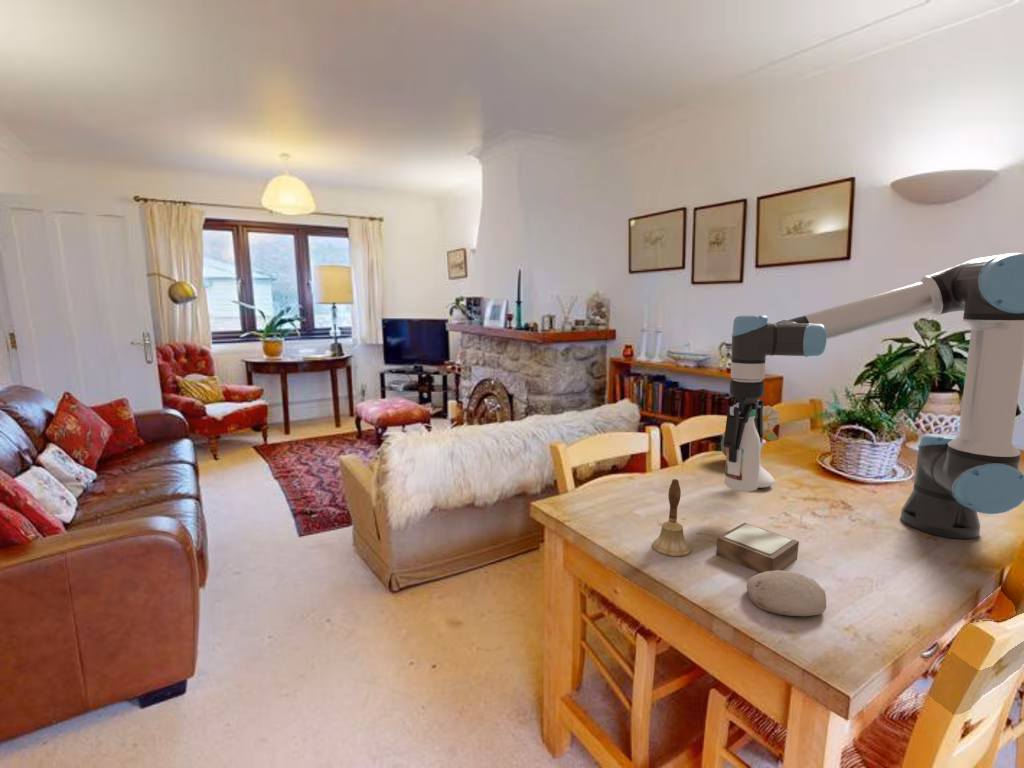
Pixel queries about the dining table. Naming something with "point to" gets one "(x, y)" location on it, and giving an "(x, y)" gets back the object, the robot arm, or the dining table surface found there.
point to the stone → (787, 593)
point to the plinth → (757, 548)
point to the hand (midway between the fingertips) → (742, 470)
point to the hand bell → (672, 528)
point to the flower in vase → (769, 423)
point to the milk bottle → (746, 459)
